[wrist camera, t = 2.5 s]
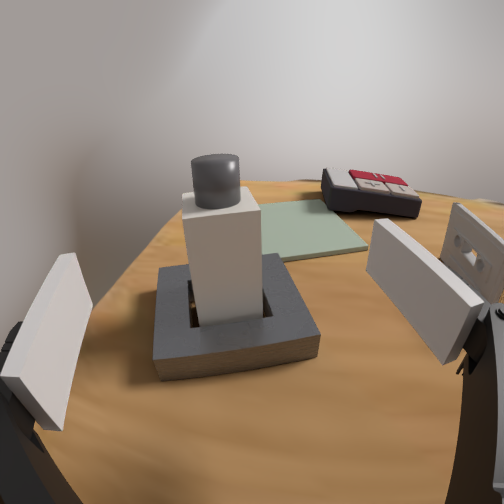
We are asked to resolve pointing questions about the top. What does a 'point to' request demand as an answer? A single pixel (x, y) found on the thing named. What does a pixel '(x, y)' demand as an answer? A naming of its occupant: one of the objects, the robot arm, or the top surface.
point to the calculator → (368, 193)
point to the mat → (305, 231)
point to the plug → (223, 242)
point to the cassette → (485, 245)
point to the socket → (230, 328)
